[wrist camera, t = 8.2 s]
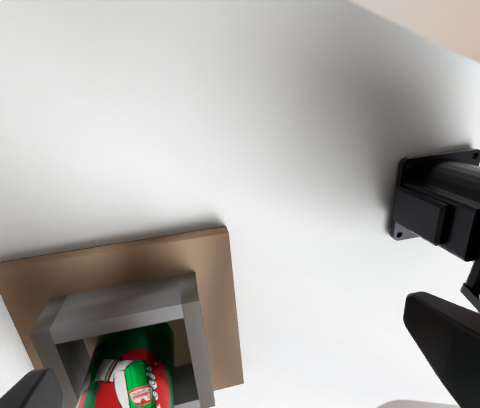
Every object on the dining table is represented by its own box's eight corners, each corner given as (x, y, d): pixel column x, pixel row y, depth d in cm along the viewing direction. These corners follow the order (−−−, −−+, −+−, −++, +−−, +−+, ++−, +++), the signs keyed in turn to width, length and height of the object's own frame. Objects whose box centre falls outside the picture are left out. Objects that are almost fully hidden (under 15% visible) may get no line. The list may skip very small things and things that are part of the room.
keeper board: (226, 226, 20) (237, 256, 17) (241, 372, 25) (252, 420, 22) (-1, 262, 18) (-45, 306, 14) (66, 415, 23) (46, 475, 20)
